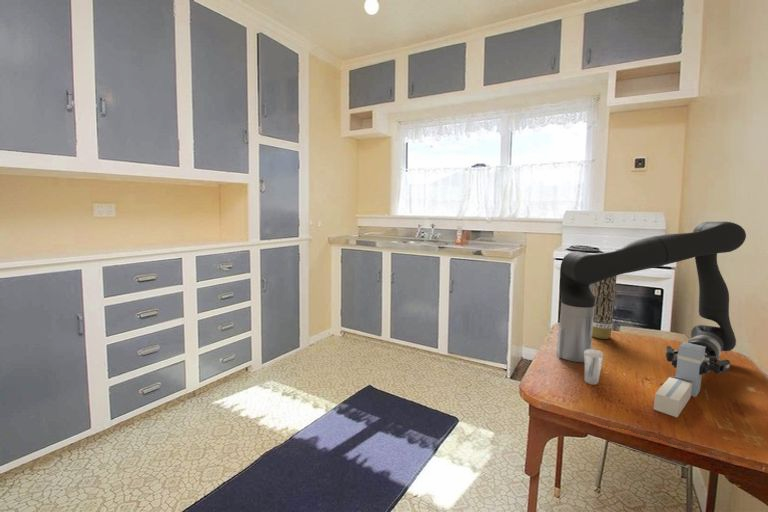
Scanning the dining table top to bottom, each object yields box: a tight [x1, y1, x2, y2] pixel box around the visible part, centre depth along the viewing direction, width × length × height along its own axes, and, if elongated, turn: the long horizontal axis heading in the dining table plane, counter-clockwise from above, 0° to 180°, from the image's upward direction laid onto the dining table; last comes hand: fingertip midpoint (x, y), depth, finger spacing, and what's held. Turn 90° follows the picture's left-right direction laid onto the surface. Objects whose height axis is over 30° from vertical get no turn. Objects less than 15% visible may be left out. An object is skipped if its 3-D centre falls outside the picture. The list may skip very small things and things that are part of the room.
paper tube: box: [592, 275, 618, 340], centre depth 136 cm, size 7×7×25 cm
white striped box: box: [653, 375, 693, 418], centre depth 92 cm, size 15×4×4 cm, turn 131°
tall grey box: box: [674, 341, 706, 398], centre depth 97 cm, size 5×5×12 cm
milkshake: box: [583, 342, 604, 385], centre depth 102 cm, size 4×5×10 cm
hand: (688, 367), depth 96 cm, fingers closed on tall grey box, 4 cm apart
